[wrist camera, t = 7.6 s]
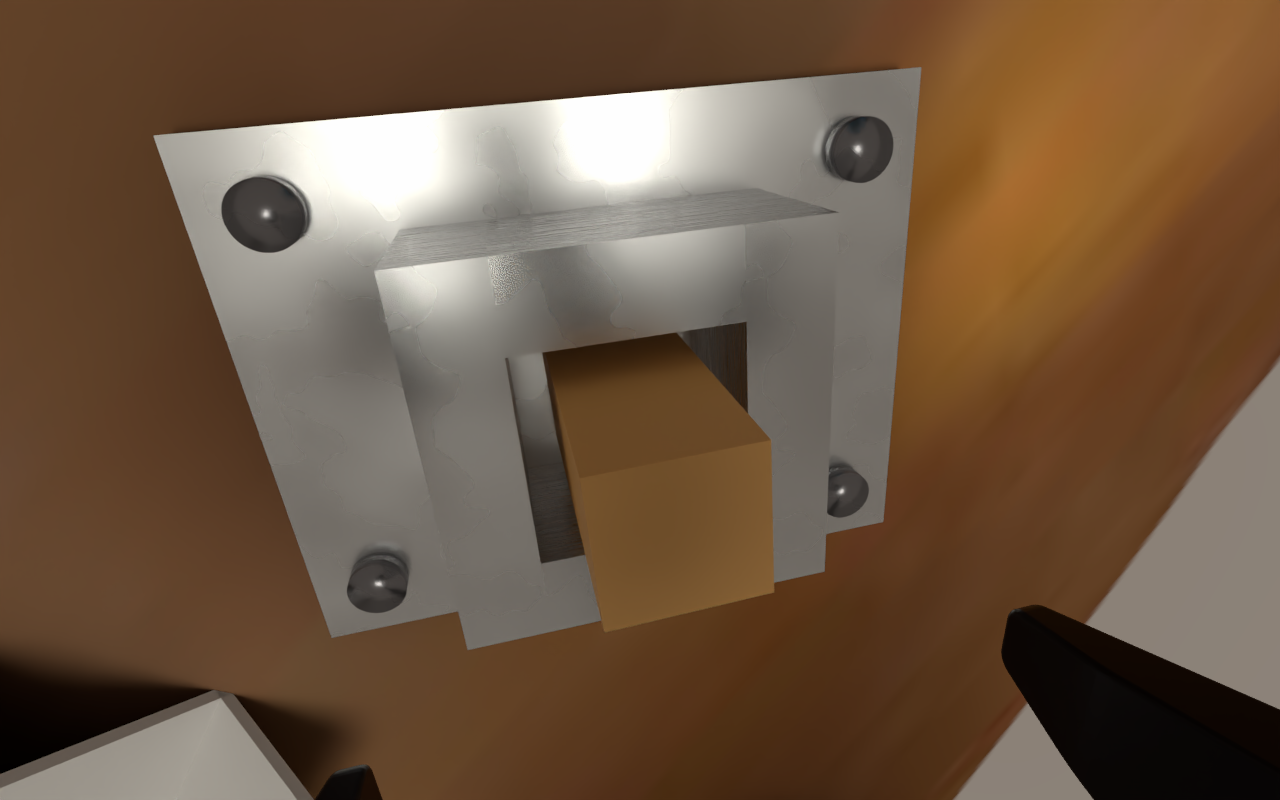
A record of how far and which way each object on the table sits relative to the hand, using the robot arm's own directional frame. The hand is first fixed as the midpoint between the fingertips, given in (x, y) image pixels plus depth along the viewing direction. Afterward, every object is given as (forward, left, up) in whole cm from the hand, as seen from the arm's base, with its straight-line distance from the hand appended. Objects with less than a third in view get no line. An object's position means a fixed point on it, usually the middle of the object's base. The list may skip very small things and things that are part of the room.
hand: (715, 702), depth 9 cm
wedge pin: (+1, 0, -11) cm, 11 cm away
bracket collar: (+1, 0, -12) cm, 12 cm away
